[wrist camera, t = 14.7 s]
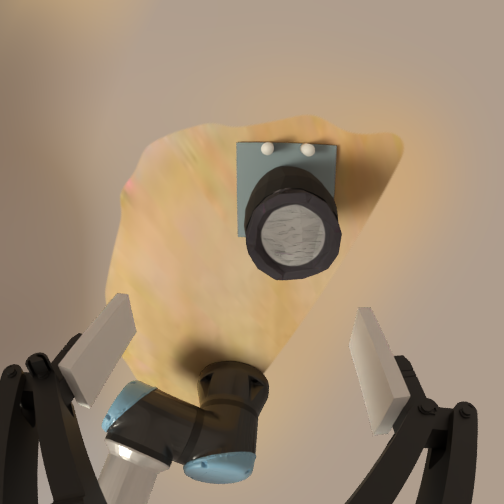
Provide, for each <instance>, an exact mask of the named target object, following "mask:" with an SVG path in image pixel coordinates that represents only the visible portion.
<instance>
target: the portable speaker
mask: <svg viewBox="0 0 504 504" xmlns="http://www.w3.org/2000/svg"><path fill="white" fill-rule="evenodd" d="M244 230H245V236H246V245H247V249H248V253H249V255H250V257H251V258H252V261H253V262H254V263H255V265H256V266H257V268H258V269H259V270H261V271H263V272H264V273H266V274H267V275H269V276H270V277H272V278H273V279H275V280H293V279H304V278H306V277H309V276H312V275H315V274H318V273H320V272H322V271H324V270H326V269H328V268H329V267H330V265H331V264H332V262H333V261H334V260H335V258H336V257H337V255H338V253H339V247H340V241H341V235H342V233H341V230H340V226H339V224H338V215H337V207H336V204H335V202H334V199H333V197H332V195H331V194H330V193H329V191H328V190H327V189H326V188H325V186H324V185H323V184H322V182H320V181H319V180H318V179H317V178H316V177H315V176H314V175H313V174H312V173H311V172H309V171H306V170H304V169H301V168H298V167H293V166H280V167H276V168H274V169H272V170H270V171H269V172H267V173H266V174H265V175H264V176H263V177H262V178H261V179H260V180H259V181H258V183H257V184H256V185H255V187H254V189H253V191H252V193H251V195H250V198H249V201H248V203H247V206H246V209H245V219H244Z"/></svg>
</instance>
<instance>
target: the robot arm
mask: <svg viewBox="0 0 504 504" xmlns="http://www.w3.org/2000/svg"><path fill="white" fill-rule="evenodd" d="M135 333H136V327H135V323H134V319H133V314H132V310H131V305H130V300H129V295H128V294H121V293H117V294H116V295H115V296H114V298H113V299H112V300H111V301H110V302H109V303H108V304H107V306H106V307H105V308H104V309H103V310H102V312H101V313H100V314H99V315H98V317H96V319H95V320H94V321H93V322H92V324H91V325H90V326H89V327H88V328H87V329H86V331H85V332H84V333H83V334H80V333H78V334H77V335H75V336H74V337H72V338H71V339H70V340H69V342H68V343H67V345H65V347H64V348H63V350H61V352H60V353H59V354H58V355H57V356H56V358H55V359H54V360H53V361H52V363H50V361H49V359H48V357H47V355H46V354H44V353H35V354H33V355H31V356H30V357H28V359H27V360H26V363H25V364H26V367H27V369H28V370H29V372H30V373H27V372H23V370H22V369H21V367H20V366H19V365H15V364H13V365H10V366H8V367H6V369H4V371H3V373H2V376H1V379H0V504H38V489H37V466H38V443H39V442H40V447H41V452H42V457H43V461H44V466H45V470H46V474H47V478H48V482H49V485H50V489H51V493H52V496H53V500H54V501H53V503H52V504H147V502H148V499H149V497H150V494H151V491H152V488H153V485H154V483H155V479H156V477H157V474H159V473H160V472H163V471H165V470H168V469H169V468H170V465H171V463H172V461H174V462H177V463H180V464H182V465H184V466H183V469H184V473H185V474H186V475H187V476H188V477H191V478H192V479H194V480H197V481H201V482H206V483H214V484H228V483H235V482H239V481H242V480H245V479H246V478H248V477H249V476H250V475H251V474H252V471H253V467H254V461H255V459H256V455H255V452H256V439H257V427H258V416H259V414H260V412H261V410H262V408H263V406H264V404H265V403H266V401H267V398H268V393H269V384H268V381H267V379H266V377H265V376H264V375H263V374H262V373H261V372H260V371H259V370H257V369H256V368H254V367H252V366H250V365H247V364H244V363H239V362H232V361H225V362H218V363H214V364H211V365H209V366H208V367H206V368H205V369H204V370H203V371H202V372H201V374H200V377H199V380H198V395H199V402H200V408H199V407H197V406H195V405H192V404H190V403H187V402H185V401H183V400H180V399H178V398H176V397H174V396H171V395H169V394H167V393H165V392H163V391H161V390H159V389H158V388H157V387H152V386H150V385H147V384H145V383H143V382H141V381H131V382H130V383H128V384H127V385H126V386H125V387H124V388H123V390H122V391H121V392H120V394H119V395H118V396H117V398H116V399H115V401H114V402H113V404H112V406H111V407H110V409H109V410H108V413H107V415H106V416H105V418H104V420H103V422H102V429H103V430H104V431H105V432H108V433H107V436H106V438H105V440H104V441H105V443H106V446H107V448H108V451H109V454H108V457H107V459H106V461H105V464H104V466H103V469H102V471H101V474H100V476H99V478H98V481H97V478H96V476H95V473H94V471H93V468H92V465H91V463H90V460H89V457H88V454H87V451H86V448H85V445H84V442H83V439H82V435H81V432H80V428H79V425H78V421H77V418H76V414H75V410H74V406H73V404H72V402H71V401H72V400H73V398H74V397H75V399H76V401H77V403H78V404H79V405H81V406H85V407H87V408H91V407H92V405H93V403H94V402H95V400H96V398H97V396H98V395H99V393H100V391H101V389H102V388H103V386H104V384H105V383H106V381H107V379H108V378H109V376H110V374H111V372H112V371H113V369H114V367H115V366H116V364H117V362H118V361H119V359H120V358H121V356H122V354H123V353H124V351H125V349H126V348H127V346H128V345H129V343H130V341H131V340H132V338H133V336H134V335H135ZM349 348H350V351H351V355H352V358H353V362H354V365H355V369H356V372H357V376H358V379H359V383H360V387H361V390H362V394H363V398H364V402H365V405H366V409H367V413H368V417H369V421H370V425H371V430H372V434H373V435H381V434H388V433H389V431H390V430H391V428H392V427H393V429H394V432H395V434H394V435H393V437H392V438H391V440H390V441H389V442H388V444H387V446H386V448H385V450H384V451H383V453H382V454H381V456H380V457H379V459H378V460H377V462H376V463H375V464H374V466H373V467H372V469H371V470H370V472H369V473H368V474H367V476H366V477H365V478H364V480H363V481H362V483H361V484H360V485H359V486H358V488H357V489H356V490H355V492H354V493H353V494H352V495H351V497H350V498H349V499H348V500H347V502H346V503H345V504H392V503H393V502H394V500H395V499H396V497H397V495H398V494H399V492H400V490H401V489H402V487H403V485H404V484H405V482H406V480H407V479H408V477H409V475H410V473H411V471H412V470H413V468H414V466H415V464H416V462H417V460H418V458H419V456H420V454H421V452H422V450H423V448H428V453H427V458H426V463H425V468H424V473H423V477H422V481H421V485H420V489H419V493H418V497H417V500H416V504H471V503H472V496H473V489H474V481H475V472H476V458H477V435H478V431H477V430H478V419H477V410H476V408H475V407H474V406H473V405H472V404H471V403H468V402H459V403H457V405H456V406H455V407H454V408H453V409H451V408H440V407H438V405H437V404H436V403H435V402H434V401H433V400H431V399H428V398H426V396H425V394H424V391H423V389H422V387H421V385H420V382H419V380H418V378H417V377H416V374H415V372H414V371H413V368H412V365H411V363H410V362H409V361H408V360H407V359H406V358H405V357H404V356H403V355H401V356H393V354H392V351H391V349H390V347H389V345H388V342H387V340H386V338H385V336H384V334H383V332H382V330H381V328H380V325H379V323H378V321H377V319H376V317H375V315H374V313H373V311H372V309H371V308H368V307H367V308H365V307H364V308H360V307H359V308H358V311H357V315H356V320H355V324H354V327H353V332H352V336H351V339H350V343H349Z"/></svg>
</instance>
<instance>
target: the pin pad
mask: <svg viewBox="0 0 504 504" xmlns="http://www.w3.org/2000/svg"><path fill="white" fill-rule="evenodd" d="M236 145H237V215H238V237H246V236H245V230H244V219H245V209H246V206H247V203H248V201H249V198H250V195H251V193H252V191H253V189H254V187H255V185H256V184H257V183H258V181H259V180H260V179H261V178H262V177H263V176H264V175H265V174H266V173H267V172H269V171H270V170H272V169H274V168H276V167H280V166H293V167H298V168H301V169H304V170H306V171H309V172H311V173H312V174H313V175H314V176H315V177H316V178H317V179H318V180H319V181H320V182H322V184H323V185H324V186H325V188H326V189H327V190H328V191H329V193H330V194H331V195H332V197H333V199H334V191H335V173H336V150H337V146H335V145H321V144H308V143H303V144H302V143H271V142H238V143H236Z"/></svg>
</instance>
